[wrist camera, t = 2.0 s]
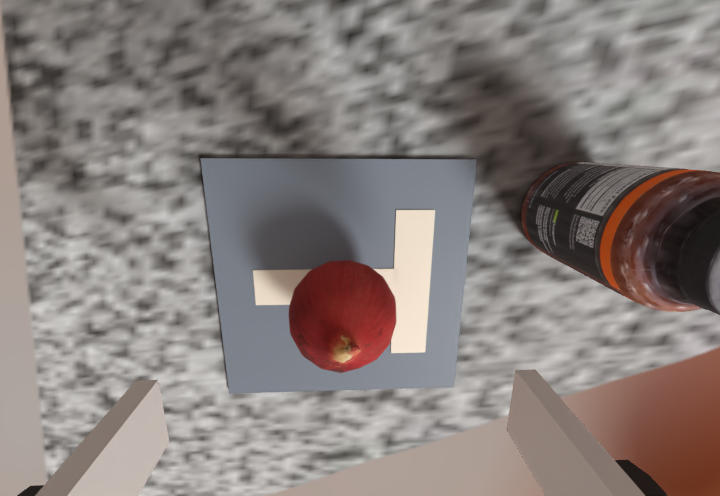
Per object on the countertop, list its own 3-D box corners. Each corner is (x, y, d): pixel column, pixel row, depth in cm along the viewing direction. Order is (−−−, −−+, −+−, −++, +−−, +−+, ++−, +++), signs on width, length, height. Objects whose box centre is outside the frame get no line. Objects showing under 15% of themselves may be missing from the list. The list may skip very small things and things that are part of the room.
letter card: (202, 158, 20) (199, 158, 20) (474, 159, 21) (477, 159, 21) (230, 390, 25) (228, 394, 25) (452, 384, 26) (454, 387, 25)
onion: (370, 335, 24) (385, 428, 16) (287, 314, 23) (260, 401, 15) (399, 257, 22) (429, 319, 15) (311, 232, 21) (294, 283, 14)
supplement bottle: (620, 227, 23) (870, 305, 12) (534, 268, 23) (701, 378, 13) (594, 141, 21) (859, 143, 10) (503, 188, 22) (663, 237, 11)
